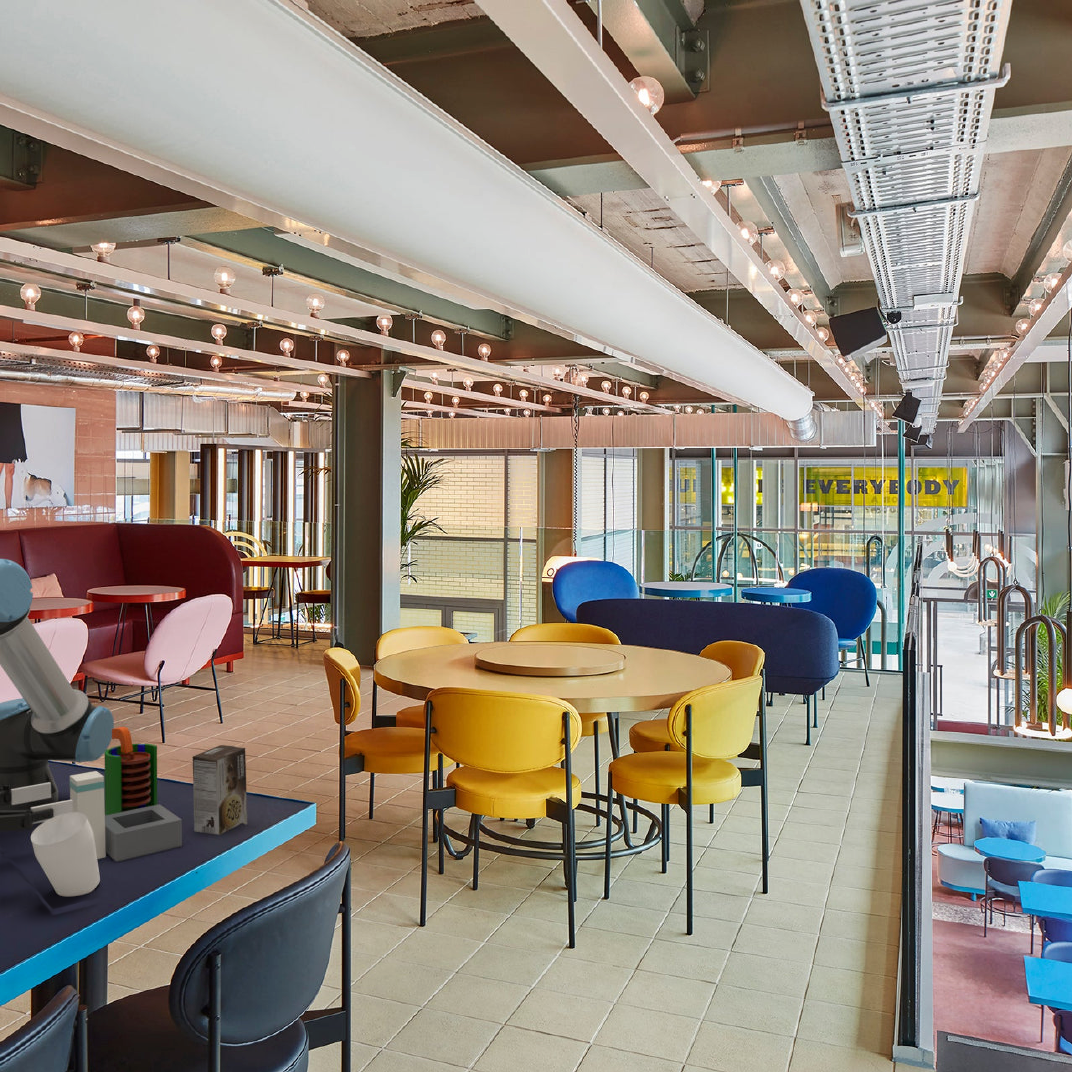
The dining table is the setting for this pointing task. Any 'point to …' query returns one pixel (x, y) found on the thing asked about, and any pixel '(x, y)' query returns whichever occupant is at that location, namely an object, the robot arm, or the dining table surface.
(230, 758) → the coffee box
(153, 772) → the motor
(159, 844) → the socket
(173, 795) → the dining table surface
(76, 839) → the cup
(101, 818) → the plug
